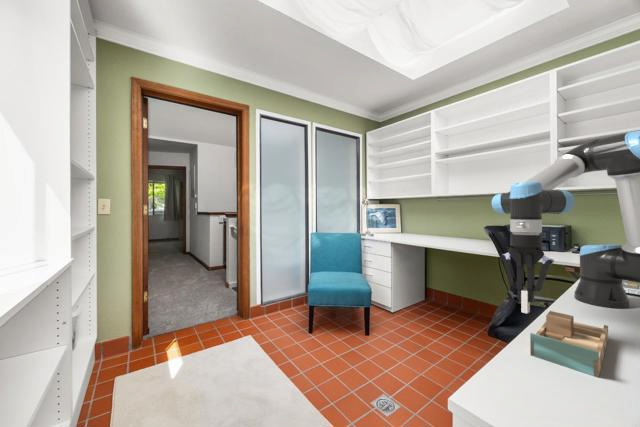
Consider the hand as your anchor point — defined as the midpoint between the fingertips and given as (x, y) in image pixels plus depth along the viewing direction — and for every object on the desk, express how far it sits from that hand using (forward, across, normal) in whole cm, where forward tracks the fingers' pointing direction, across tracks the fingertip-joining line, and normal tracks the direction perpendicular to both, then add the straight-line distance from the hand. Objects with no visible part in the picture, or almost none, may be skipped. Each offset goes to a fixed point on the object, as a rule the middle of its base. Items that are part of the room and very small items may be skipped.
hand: (525, 311), depth 79 cm
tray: (+7, +10, 0) cm, 12 cm away
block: (+4, +8, +1) cm, 8 cm away
